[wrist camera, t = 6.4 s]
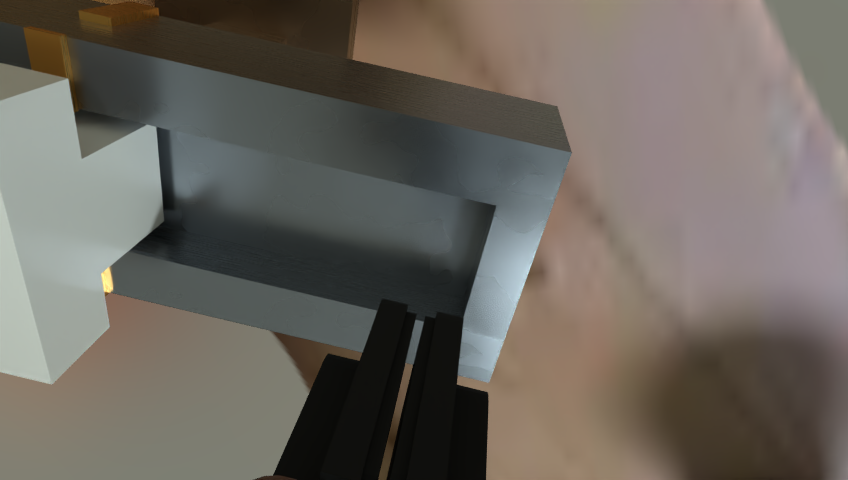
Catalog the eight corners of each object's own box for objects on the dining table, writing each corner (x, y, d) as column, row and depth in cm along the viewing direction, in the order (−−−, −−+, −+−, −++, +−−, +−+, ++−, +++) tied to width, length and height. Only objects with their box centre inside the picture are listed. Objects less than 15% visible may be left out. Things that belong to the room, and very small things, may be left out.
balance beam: (559, -18, 20) (618, 31, 10) (481, 247, 26) (467, 444, 16) (-27, -149, 20) (-563, -236, 10) (35, 142, 26) (-255, 270, 16)
